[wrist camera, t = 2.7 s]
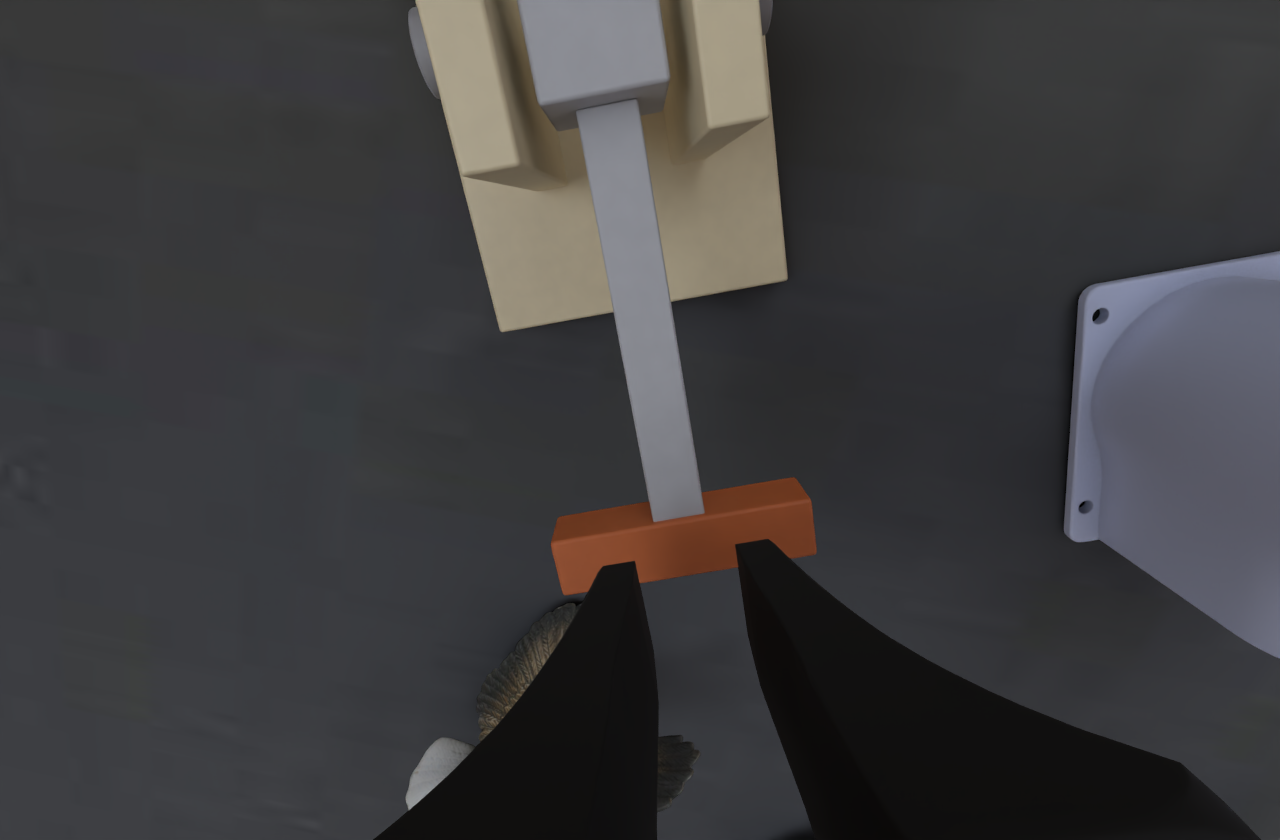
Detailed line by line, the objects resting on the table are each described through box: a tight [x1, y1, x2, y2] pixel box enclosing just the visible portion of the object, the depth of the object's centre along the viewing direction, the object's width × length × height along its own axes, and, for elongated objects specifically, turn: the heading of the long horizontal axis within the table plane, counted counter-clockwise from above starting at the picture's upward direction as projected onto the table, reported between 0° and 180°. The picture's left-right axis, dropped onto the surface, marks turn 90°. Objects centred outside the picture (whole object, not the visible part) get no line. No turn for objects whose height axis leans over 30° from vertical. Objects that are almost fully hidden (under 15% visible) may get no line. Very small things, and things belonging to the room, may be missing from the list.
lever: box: [517, 0, 817, 595], centre depth 12 cm, size 12×6×2 cm, turn 10°
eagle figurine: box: [405, 603, 701, 812], centre depth 22 cm, size 8×7×9 cm
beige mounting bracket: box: [408, 0, 788, 332], centre depth 13 cm, size 12×9×9 cm
